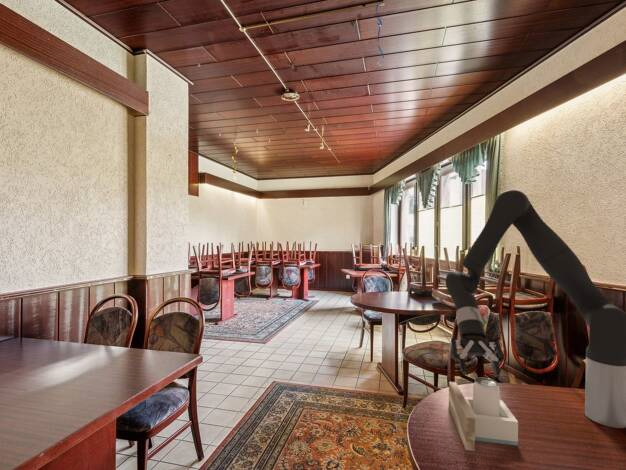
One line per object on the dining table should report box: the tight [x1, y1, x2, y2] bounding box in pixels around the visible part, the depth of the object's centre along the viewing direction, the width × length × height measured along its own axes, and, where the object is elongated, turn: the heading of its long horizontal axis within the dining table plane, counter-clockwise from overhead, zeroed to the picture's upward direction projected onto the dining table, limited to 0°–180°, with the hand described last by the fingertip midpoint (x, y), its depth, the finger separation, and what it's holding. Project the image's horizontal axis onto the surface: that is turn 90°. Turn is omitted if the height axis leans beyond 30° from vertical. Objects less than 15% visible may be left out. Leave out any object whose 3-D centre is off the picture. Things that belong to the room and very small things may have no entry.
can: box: [472, 376, 501, 417], centre depth 90 cm, size 6×6×12 cm
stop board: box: [448, 381, 476, 452], centre depth 91 cm, size 2×20×8 cm, turn 169°
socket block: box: [464, 396, 519, 446], centre depth 89 cm, size 11×11×6 cm
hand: (481, 374), depth 95 cm, fingers open, 8 cm apart
